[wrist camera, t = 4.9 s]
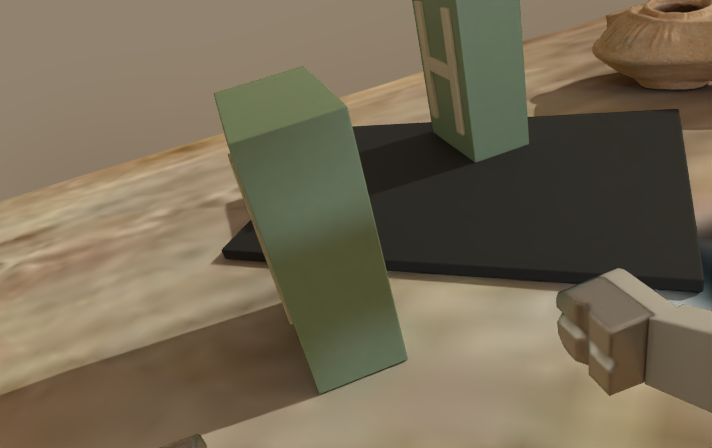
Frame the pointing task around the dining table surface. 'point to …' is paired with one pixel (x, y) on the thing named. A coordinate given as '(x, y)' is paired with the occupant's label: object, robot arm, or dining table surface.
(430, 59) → the letter H
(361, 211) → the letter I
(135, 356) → the dining table surface
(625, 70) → the pottery oil lamp
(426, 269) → the word mat
